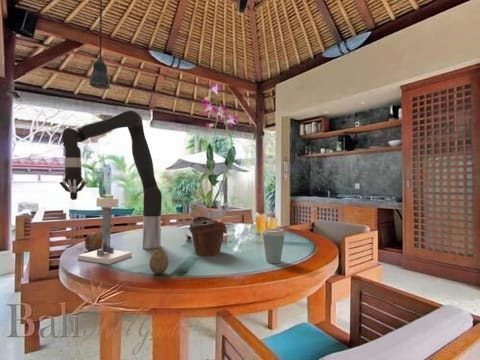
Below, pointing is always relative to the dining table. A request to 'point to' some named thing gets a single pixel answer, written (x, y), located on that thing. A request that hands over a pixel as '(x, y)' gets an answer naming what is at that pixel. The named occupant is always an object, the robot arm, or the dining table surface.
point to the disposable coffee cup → (273, 244)
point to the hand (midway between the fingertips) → (73, 199)
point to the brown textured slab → (93, 241)
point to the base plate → (105, 256)
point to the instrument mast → (106, 219)
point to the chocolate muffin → (207, 235)
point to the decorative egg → (158, 262)
